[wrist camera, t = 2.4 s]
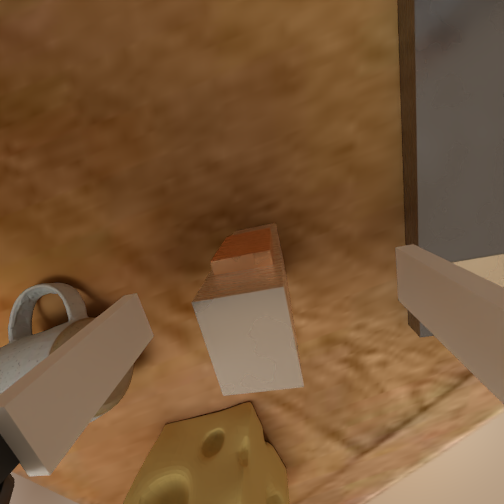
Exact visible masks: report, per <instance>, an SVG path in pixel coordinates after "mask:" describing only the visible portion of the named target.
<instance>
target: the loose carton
mask: <svg viewBox="0 0 504 504" xmlns="http://www.w3.org/2000/svg"><path fill="white" fill-rule="evenodd" d="M210 263H211V266H212V270H211V271H210V273H209V275H208V276H207V278H206V279H205V281H204V283H203V284H202V286H201V288H200V289H199V291H198V293H197V294H196V296H195V298H194V299H193V301H192V305H193V308H194V311H195V314H196V317H197V320H198V323H199V326H200V329H201V332H202V335H203V338H204V341H205V343H206V346H207V349H208V352H209V355H210V358H211V361H212V364H213V367H214V370H215V373H216V376H217V379H218V382H219V385H220V388H221V391H222V394H223V396H226V395H235V394H244V393H253V392H262V391H271V390H280V389H290V388H299V387H304V383H303V377H302V371H301V364H300V358H299V352H298V345H297V339H296V333H295V326H294V320H293V314H292V308H291V301H290V295H289V289H288V282H287V276H286V271H285V266H284V260H283V255H282V250H281V245H280V240H279V235H278V230H277V225H276V223H271V224H267V225H262V226H257V227H252V228H247V229H243V230H238V231H235V232H234V234H233V235H231V236H227V238H226V239H225V241H224V242H223V244H222V245H221V247H220V248H219V249H218V251H217V252H216V254H215V255H214V257H213V258H212V260H211V261H210Z"/></svg>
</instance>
